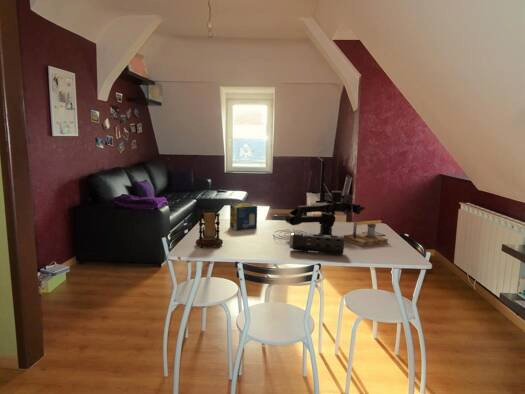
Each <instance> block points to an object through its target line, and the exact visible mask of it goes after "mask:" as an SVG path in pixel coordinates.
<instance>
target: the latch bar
mask: <svg viewBox="0 0 525 394" xmlns="http://www.w3.org/2000/svg"><path fill="white" fill-rule="evenodd" d="M367 224H376V225H377V224H382V220H381V219H380V220H379V219H377V220H367V221H354V222H353V233H352V234H353V238H356V234H357V227H358V226H362V225H363V226H364V225H367Z"/></svg>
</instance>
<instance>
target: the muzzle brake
mask: <svg viewBox="0 0 525 394" xmlns="http://www.w3.org/2000/svg"><path fill="white" fill-rule="evenodd" d="M344 246H345V240H344V235H343V236H342V235H332V236H331V235H320V234H319V233H317V234H316V233H315V234H314V233H305V234H304V233H303V232H297V231H295V232H291V233H290V236H289V249H292V250H294V251H301V252H302V253H309V252H316V253H319V254H325V255H326V254H327V255H338V256H342V255H343V254H344V251H345V249H344V248H345V247H344Z"/></svg>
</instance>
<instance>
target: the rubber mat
mask: <svg viewBox="0 0 525 394" xmlns="http://www.w3.org/2000/svg"><path fill="white" fill-rule="evenodd" d="M367 232H368V231H362V232H361V233H367ZM375 235H378V236H381V237H384V236H386V234H384V233H382V232H379V231H377V230H375Z"/></svg>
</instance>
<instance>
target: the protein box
mask: <svg viewBox="0 0 525 394" xmlns="http://www.w3.org/2000/svg"><path fill="white" fill-rule="evenodd" d="M229 205H230V206H229V207H230V208H229V228H231V229H232V230H234V231H244V230H245V231H246V230H256V229H258V227H257V226H258V205H256V204H253V203H251V202H248V203H237V204H235V203H234V204H229Z"/></svg>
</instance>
